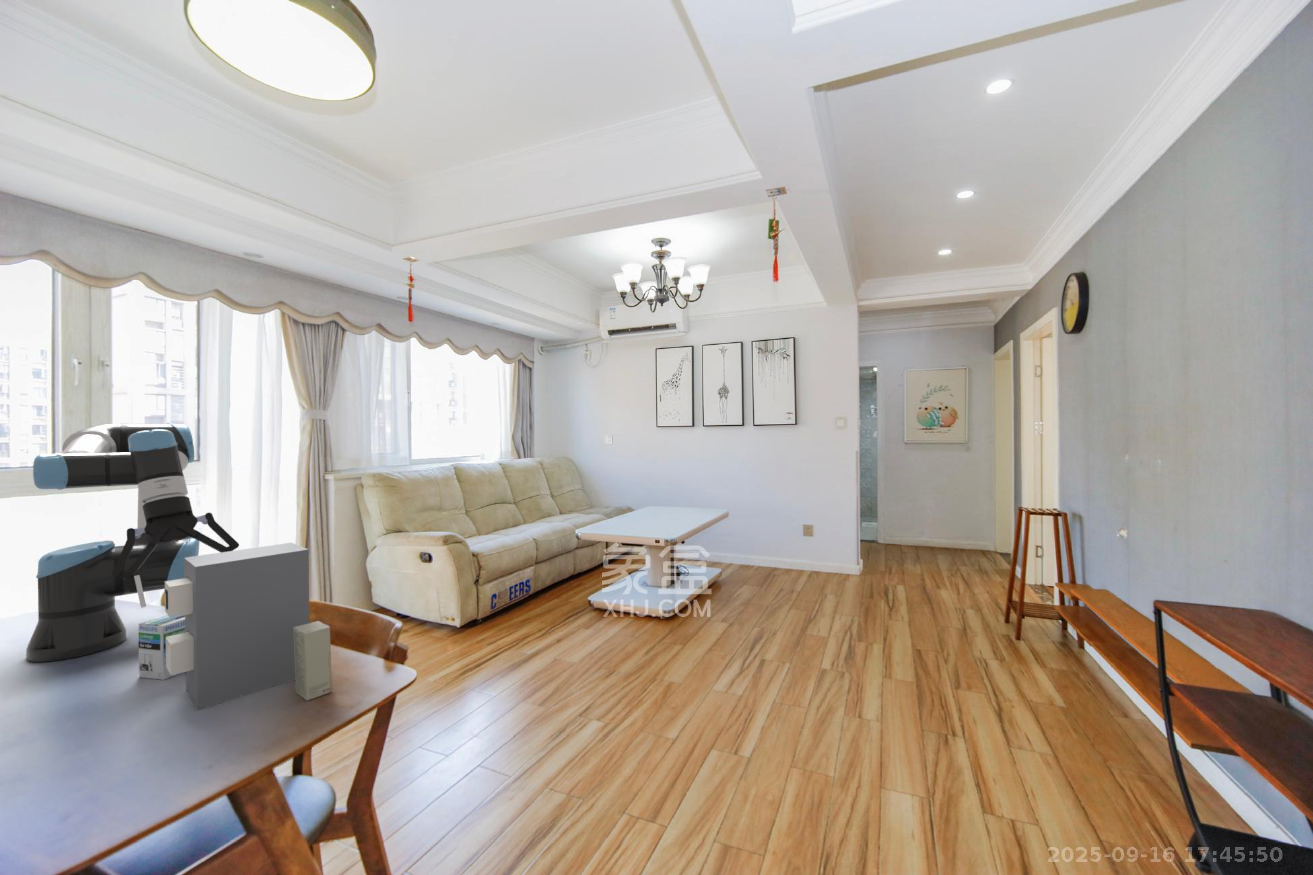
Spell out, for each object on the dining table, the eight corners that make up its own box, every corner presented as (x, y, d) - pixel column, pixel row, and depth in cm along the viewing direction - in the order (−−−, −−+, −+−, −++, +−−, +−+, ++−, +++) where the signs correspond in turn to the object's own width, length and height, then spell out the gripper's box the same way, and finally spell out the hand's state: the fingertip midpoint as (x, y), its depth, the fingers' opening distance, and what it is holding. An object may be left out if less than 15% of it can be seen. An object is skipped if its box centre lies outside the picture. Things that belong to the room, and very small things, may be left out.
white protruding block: (163, 611, 93) (163, 581, 93) (208, 602, 97) (208, 574, 97) (168, 618, 89) (167, 587, 89) (215, 608, 94) (214, 579, 94)
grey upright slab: (186, 690, 97) (184, 557, 97) (293, 659, 110) (291, 542, 110) (197, 709, 90) (195, 566, 90) (310, 674, 103) (308, 549, 103)
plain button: (166, 666, 93) (165, 636, 93) (209, 655, 97) (209, 627, 97) (170, 675, 89) (170, 644, 89) (215, 663, 94) (215, 633, 94)
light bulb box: (163, 680, 101) (162, 626, 101) (136, 678, 103) (135, 623, 102) (219, 657, 112) (218, 607, 112) (194, 655, 113) (193, 606, 113)
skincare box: (333, 692, 96) (332, 626, 96) (305, 702, 92) (304, 634, 92) (320, 682, 100) (319, 619, 100) (293, 691, 96) (292, 626, 96)
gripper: (79, 511, 101) (102, 617, 100) (239, 483, 119) (261, 573, 117) (83, 517, 107) (105, 618, 105) (236, 490, 124) (257, 575, 123)
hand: (187, 594), depth 111 cm, fingers open, 13 cm apart
